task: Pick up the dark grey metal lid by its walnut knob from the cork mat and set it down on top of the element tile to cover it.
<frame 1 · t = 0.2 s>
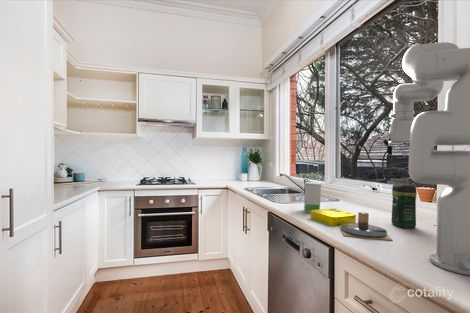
hand: (402, 155, 112), 31 cm above the worktop, tool pointing down, fingers open, 9 cm apart
lid: (363, 222, 100), on the mat
mat: (363, 232, 100), on the worktop
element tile: (332, 221, 118), on the worktop
coffee jar: (403, 226, 110), on the worktop
skincare box: (312, 211, 137), on the worktop
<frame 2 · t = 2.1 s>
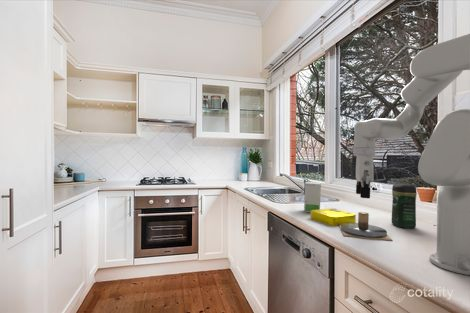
hand: (362, 195, 100), 14 cm above the worktop, tool pointing down, fingers open, 9 cm apart
nothing on the worktop moved.
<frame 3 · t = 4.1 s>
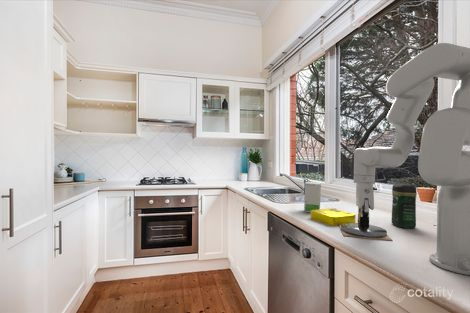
hand: (363, 225, 100), 3 cm above the worktop, tool pointing down, fingers closed on lid, 3 cm apart
lid: (363, 222, 100), on the mat, touching gripper
everything else where it was.
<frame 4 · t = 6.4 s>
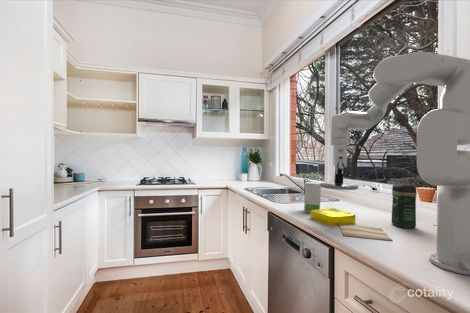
hand: (338, 182, 114), 18 cm above the worktop, tool pointing down, fingers closed on lid, 3 cm apart
lid: (338, 179, 114), point 20 cm above the worktop, touching gripper
everything else where it was.
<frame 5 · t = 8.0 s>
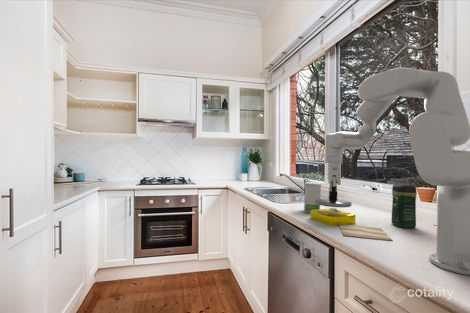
hand: (332, 199, 118), 10 cm above the worktop, tool pointing down, fingers closed on lid, 3 cm apart
lid: (332, 196, 118), point 11 cm above the worktop, touching gripper
everything else where it was.
when the fingers open (8 cm above the worktop, at t = 9.0 s): lid drops 2 cm, point 8 cm above the worktop.
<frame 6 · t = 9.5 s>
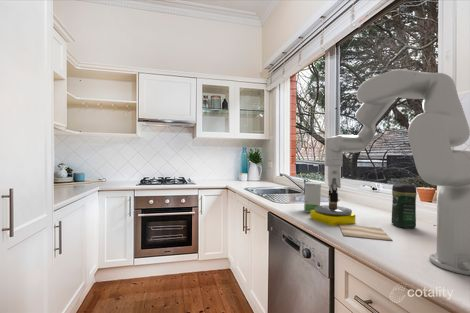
hand: (332, 200, 118), 9 cm above the worktop, tool pointing down, fingers open, 9 cm apart
lid: (333, 203, 118), point 8 cm above the worktop
everything else where it was.
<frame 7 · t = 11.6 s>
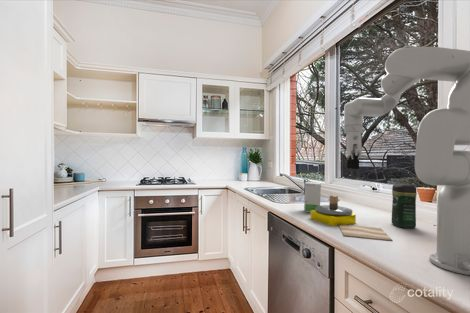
hand: (352, 168, 113), 25 cm above the worktop, tool pointing down, fingers open, 9 cm apart
lid: (333, 203, 117), point 8 cm above the worktop, touching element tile
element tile: (332, 222, 118), on the worktop, touching lid
everything else where it was.
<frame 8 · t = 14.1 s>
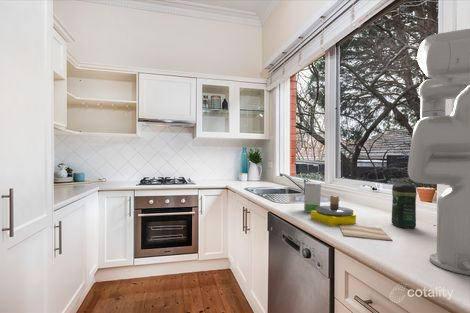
hand: (431, 161, 97), 28 cm above the worktop, tool pointing down, fingers open, 9 cm apart
nothing on the worktop moved.
at the end: lid inside the target area on the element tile (0.6 cm from its centre), point 8.6 cm above the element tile's base; lid tilted 0°; the gripper is holding nothing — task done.
